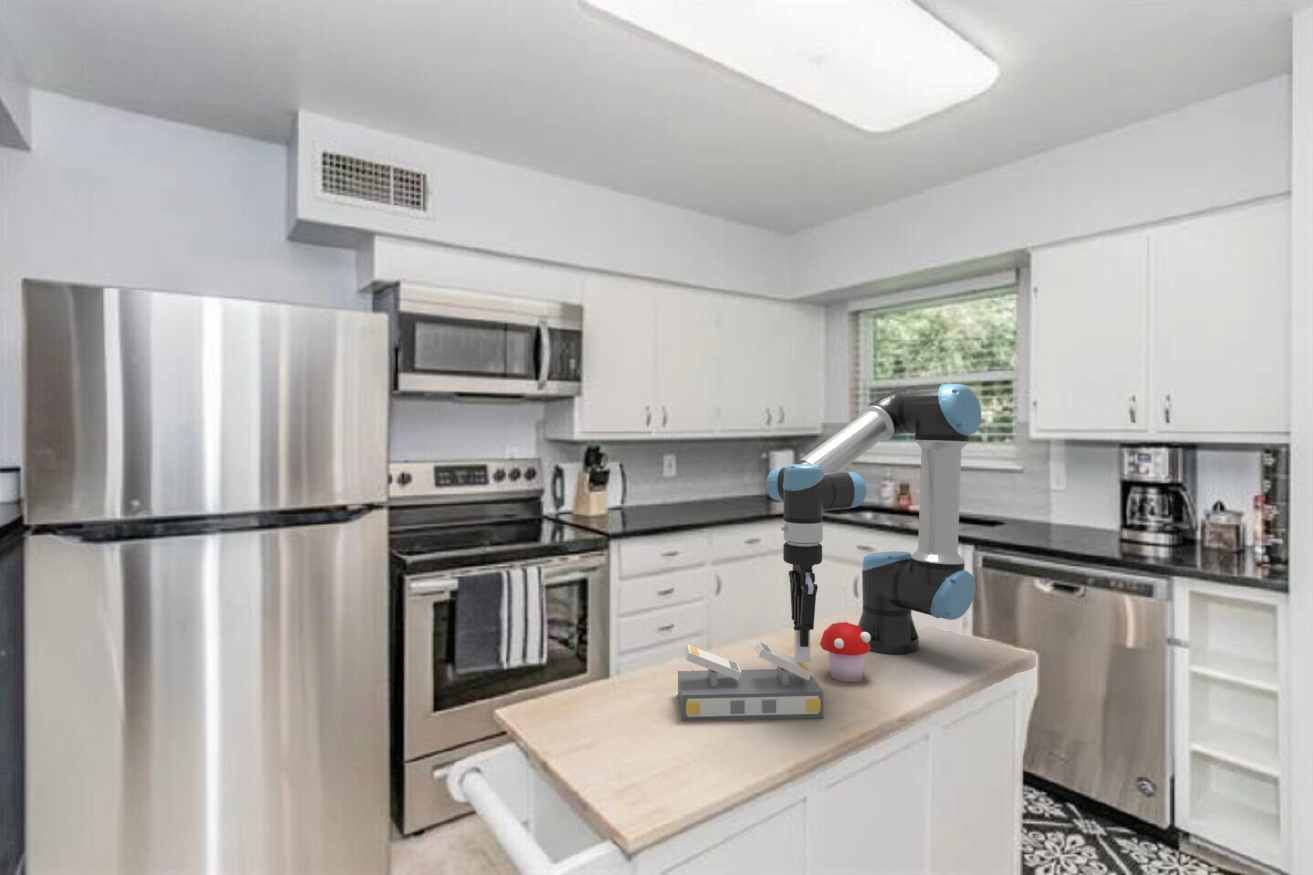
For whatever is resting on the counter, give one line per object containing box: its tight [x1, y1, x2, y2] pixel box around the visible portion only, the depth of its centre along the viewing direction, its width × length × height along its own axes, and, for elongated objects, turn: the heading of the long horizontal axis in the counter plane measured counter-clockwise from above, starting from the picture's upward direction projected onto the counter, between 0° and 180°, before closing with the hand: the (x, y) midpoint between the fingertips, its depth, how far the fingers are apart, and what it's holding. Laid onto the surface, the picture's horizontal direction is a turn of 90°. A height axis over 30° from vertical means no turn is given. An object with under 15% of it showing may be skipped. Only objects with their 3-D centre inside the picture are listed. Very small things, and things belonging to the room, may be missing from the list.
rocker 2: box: [754, 640, 813, 681], centre depth 133 cm, size 11×5×2 cm, turn 93°
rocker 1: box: [684, 644, 742, 680], centre depth 132 cm, size 11×5×2 cm, turn 92°
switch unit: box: [677, 665, 825, 722], centre depth 132 cm, size 27×12×8 cm, turn 92°
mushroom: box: [819, 618, 871, 683], centre depth 147 cm, size 11×11×12 cm
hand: (802, 660), depth 133 cm, fingers closed
